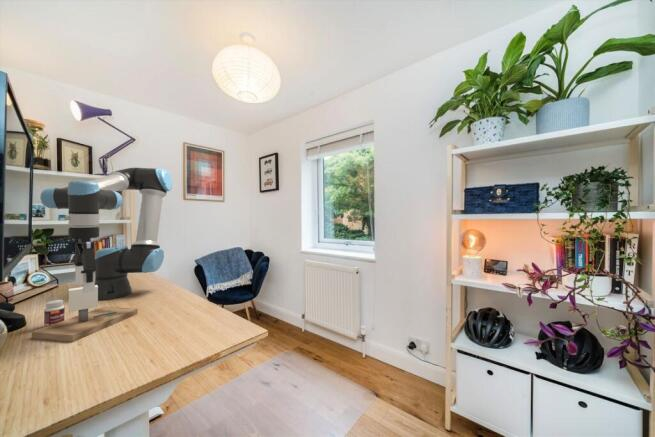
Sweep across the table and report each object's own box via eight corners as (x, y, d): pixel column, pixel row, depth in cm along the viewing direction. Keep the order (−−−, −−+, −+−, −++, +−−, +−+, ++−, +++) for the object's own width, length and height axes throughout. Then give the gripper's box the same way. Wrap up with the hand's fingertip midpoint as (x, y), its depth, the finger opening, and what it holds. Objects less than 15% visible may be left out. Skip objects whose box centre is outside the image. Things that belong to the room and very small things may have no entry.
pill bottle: (50, 329, 82) (50, 304, 82) (40, 328, 83) (40, 303, 83) (68, 323, 87) (68, 299, 87) (58, 322, 88) (58, 298, 88)
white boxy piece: (68, 322, 83) (68, 288, 83) (115, 312, 91) (115, 282, 91) (68, 324, 81) (68, 290, 80) (116, 314, 89) (116, 284, 89)
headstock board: (104, 311, 98) (104, 306, 98) (137, 313, 96) (137, 308, 96) (31, 338, 76) (31, 331, 76) (73, 341, 74) (73, 334, 74)
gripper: (62, 225, 88) (63, 283, 89) (75, 229, 73) (75, 298, 74) (91, 224, 94) (91, 278, 95) (108, 228, 79) (108, 292, 80)
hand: (84, 287), depth 85 cm, fingers open, 13 cm apart
